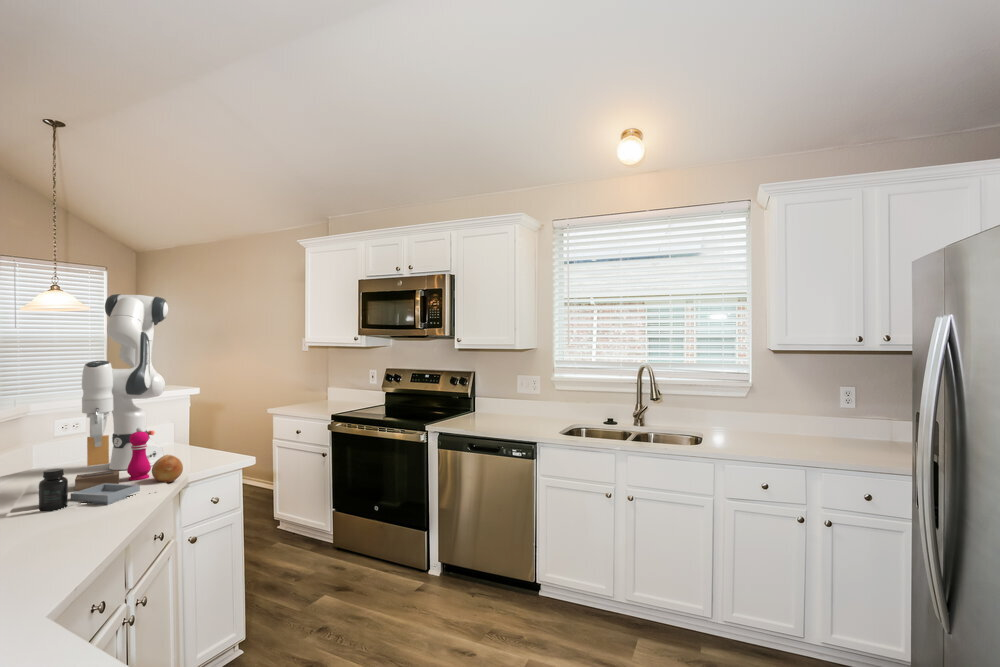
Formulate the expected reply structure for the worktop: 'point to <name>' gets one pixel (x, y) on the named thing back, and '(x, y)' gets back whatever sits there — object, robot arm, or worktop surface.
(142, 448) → the pepper mill
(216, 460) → the worktop surface
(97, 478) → the dispenser
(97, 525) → the worktop surface
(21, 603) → the worktop surface
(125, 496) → the tray
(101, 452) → the orange tan rectangular panel
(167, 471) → the onion
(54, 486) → the supplement bottle
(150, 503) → the worktop surface
